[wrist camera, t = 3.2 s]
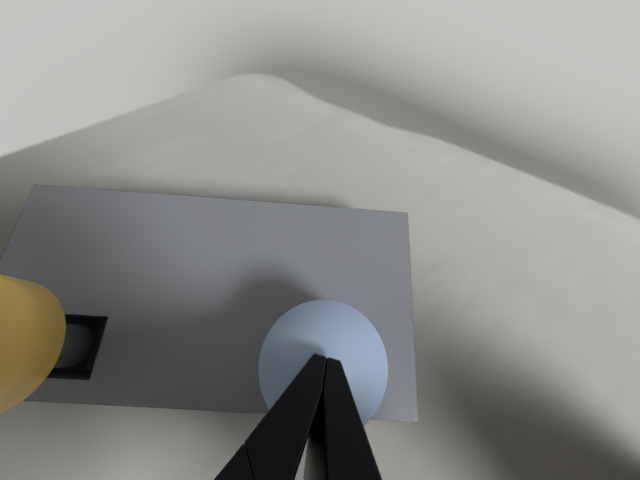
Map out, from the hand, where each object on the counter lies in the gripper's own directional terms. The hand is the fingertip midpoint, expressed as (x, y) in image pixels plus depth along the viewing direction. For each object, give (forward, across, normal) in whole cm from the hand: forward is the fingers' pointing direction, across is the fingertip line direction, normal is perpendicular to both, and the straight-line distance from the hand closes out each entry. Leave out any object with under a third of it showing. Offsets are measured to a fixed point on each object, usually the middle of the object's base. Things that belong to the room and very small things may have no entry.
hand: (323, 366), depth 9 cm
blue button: (+4, 0, +4) cm, 6 cm away
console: (+6, +5, +4) cm, 9 cm away
